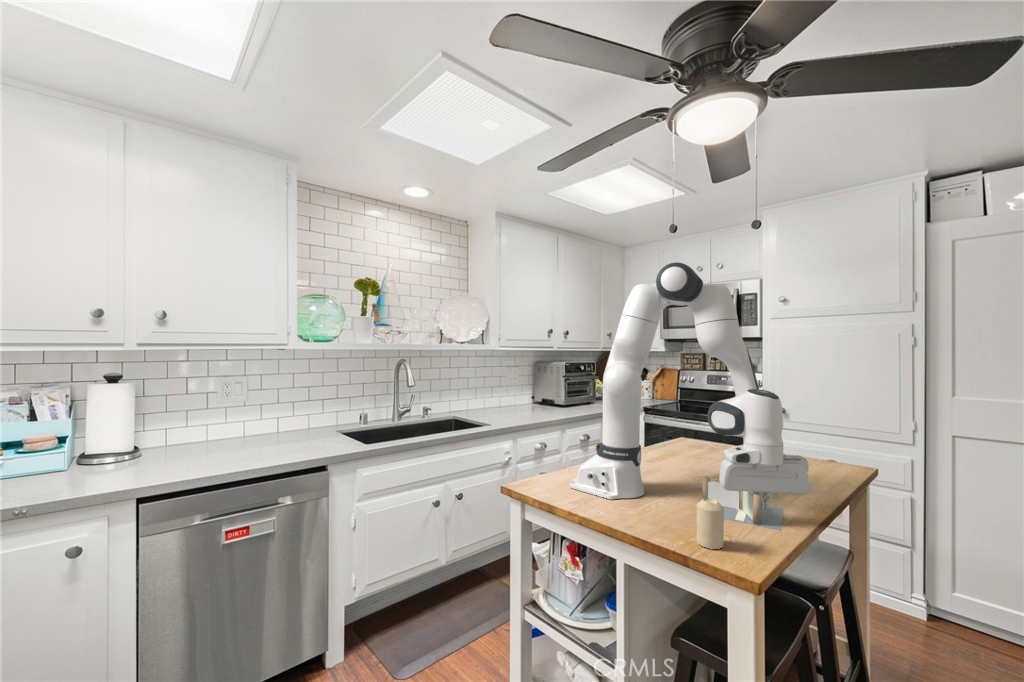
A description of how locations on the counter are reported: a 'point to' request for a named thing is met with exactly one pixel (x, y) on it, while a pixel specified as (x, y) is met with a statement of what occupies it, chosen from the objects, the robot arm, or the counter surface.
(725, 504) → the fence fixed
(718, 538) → the candle
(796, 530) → the counter surface
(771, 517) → the board
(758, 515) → the fence panel
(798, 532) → the counter surface
